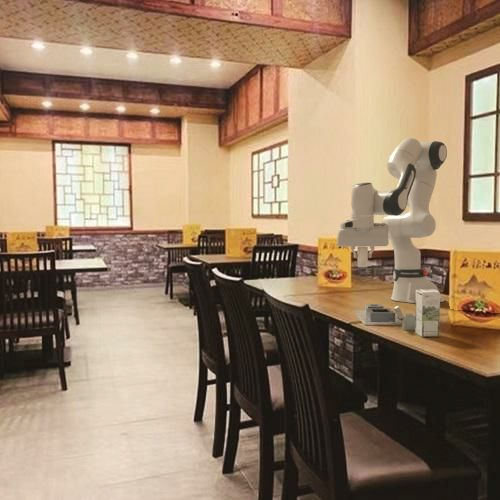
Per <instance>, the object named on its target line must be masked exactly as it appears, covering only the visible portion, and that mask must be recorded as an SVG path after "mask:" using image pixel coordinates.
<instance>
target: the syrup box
mask: <svg viewBox="0 0 500 500" xmlns="http://www.w3.org/2000/svg"><path fill="white" fill-rule="evenodd" d="M440 296H441V292H440V291H439V290H438V291H437V290H435V289H419V290H416V303H415V312H414V314H415V315H414V316H415V330H414V332H415V334H416V335H418V336H419V337H421V338H436V337H437V338H438V337H440V323H441V322H440V321H441V319H440V316H441V311H440V310H441V302H440Z"/></svg>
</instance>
